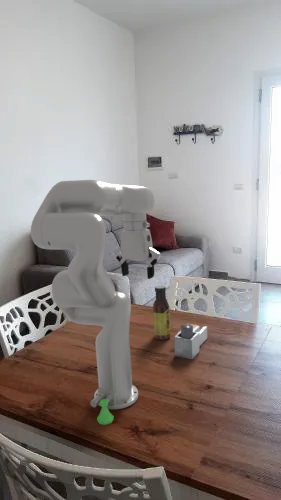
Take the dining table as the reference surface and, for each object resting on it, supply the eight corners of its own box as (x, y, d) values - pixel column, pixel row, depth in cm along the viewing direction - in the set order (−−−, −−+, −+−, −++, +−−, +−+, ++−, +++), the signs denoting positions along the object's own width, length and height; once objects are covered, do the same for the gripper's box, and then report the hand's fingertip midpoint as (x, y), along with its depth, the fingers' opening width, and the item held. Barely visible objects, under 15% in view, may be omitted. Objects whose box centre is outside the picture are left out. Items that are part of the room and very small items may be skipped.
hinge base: (192, 359, 135) (191, 339, 134) (167, 354, 140) (166, 335, 139) (210, 338, 151) (210, 320, 149) (187, 334, 155) (187, 317, 154)
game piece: (117, 418, 106) (115, 398, 105) (105, 427, 103) (103, 405, 102) (105, 412, 109) (103, 392, 108) (93, 420, 106) (92, 400, 104)
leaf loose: (198, 347, 143) (198, 335, 142) (195, 346, 144) (195, 335, 143) (207, 338, 151) (206, 326, 150) (204, 337, 151) (203, 326, 150)
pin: (190, 357, 137) (190, 329, 135) (179, 355, 139) (179, 327, 137) (195, 352, 140) (194, 325, 138) (184, 350, 142) (183, 323, 140)
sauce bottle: (171, 340, 151) (169, 289, 147) (154, 340, 151) (152, 290, 147) (170, 333, 157) (168, 284, 153) (154, 333, 158) (152, 284, 153)
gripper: (164, 224, 130) (166, 275, 134) (118, 223, 139) (122, 271, 142) (153, 228, 124) (155, 282, 127) (106, 226, 132) (110, 277, 136)
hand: (137, 276), depth 135 cm, fingers open, 9 cm apart
